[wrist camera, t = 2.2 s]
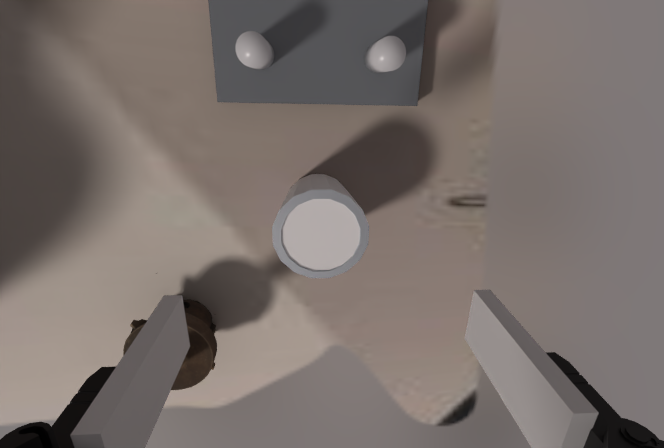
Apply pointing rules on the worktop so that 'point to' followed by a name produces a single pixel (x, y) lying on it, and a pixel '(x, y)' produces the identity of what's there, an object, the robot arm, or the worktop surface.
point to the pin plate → (318, 51)
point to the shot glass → (320, 228)
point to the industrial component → (200, 348)
